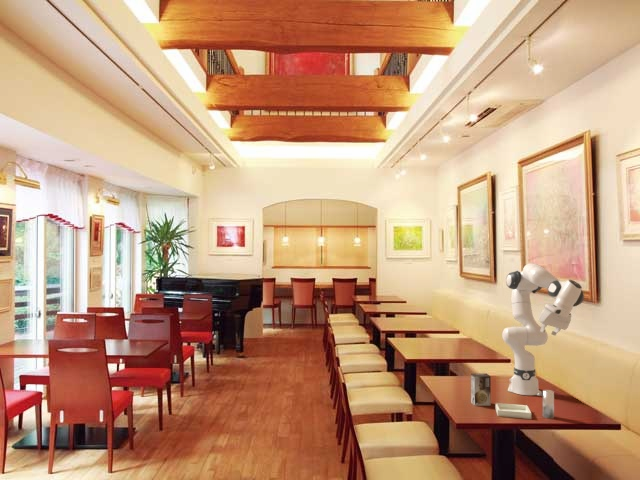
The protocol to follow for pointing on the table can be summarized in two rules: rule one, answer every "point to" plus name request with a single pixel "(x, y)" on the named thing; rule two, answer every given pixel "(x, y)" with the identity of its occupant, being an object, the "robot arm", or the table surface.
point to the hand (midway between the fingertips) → (547, 333)
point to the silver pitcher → (548, 403)
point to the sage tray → (513, 410)
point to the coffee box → (480, 389)
